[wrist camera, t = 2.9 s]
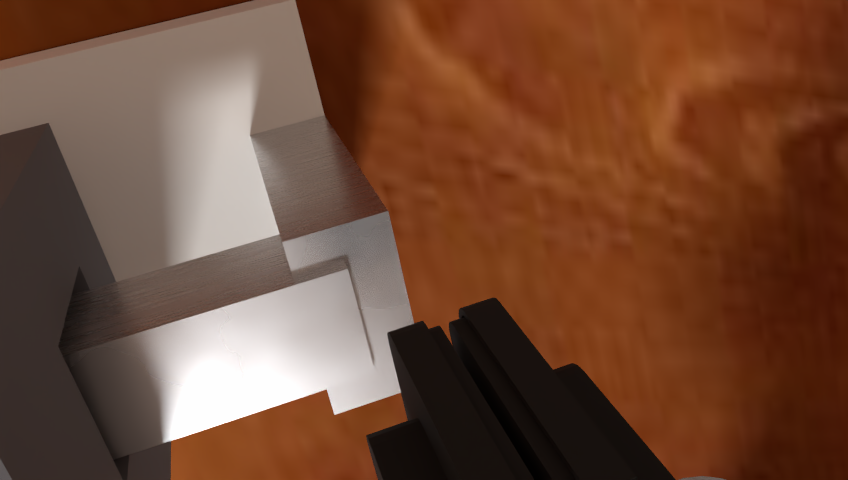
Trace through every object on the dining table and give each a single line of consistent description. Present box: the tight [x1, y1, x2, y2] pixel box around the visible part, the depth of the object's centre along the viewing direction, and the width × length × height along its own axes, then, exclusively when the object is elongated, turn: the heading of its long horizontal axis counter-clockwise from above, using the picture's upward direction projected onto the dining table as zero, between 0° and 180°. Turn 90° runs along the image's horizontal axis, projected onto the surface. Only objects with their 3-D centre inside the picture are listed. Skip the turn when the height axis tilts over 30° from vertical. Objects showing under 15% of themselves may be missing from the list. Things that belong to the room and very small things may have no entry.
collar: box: [0, 123, 171, 480], centre depth 14 cm, size 3×8×9 cm, turn 11°
